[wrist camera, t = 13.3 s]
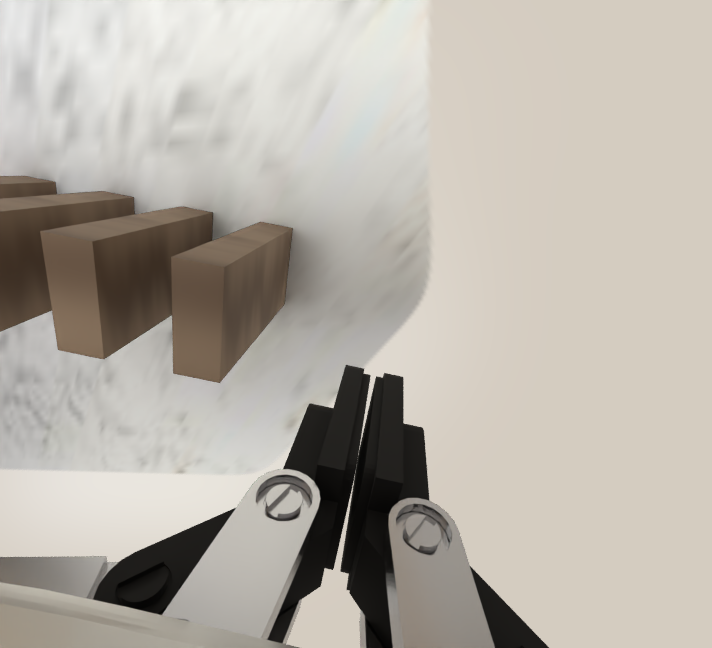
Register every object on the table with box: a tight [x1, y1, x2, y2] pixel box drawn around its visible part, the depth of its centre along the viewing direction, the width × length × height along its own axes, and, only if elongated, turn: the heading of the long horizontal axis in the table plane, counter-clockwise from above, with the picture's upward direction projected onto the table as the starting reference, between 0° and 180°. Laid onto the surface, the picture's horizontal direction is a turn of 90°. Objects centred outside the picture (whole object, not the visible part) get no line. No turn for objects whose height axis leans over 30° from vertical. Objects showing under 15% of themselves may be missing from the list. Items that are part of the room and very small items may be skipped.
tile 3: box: [0, 191, 135, 331], centre depth 20 cm, size 5×2×10 cm, turn 170°
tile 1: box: [171, 222, 293, 383], centre depth 19 cm, size 5×2×10 cm, turn 170°
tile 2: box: [40, 207, 213, 359], centre depth 20 cm, size 5×2×10 cm, turn 170°
